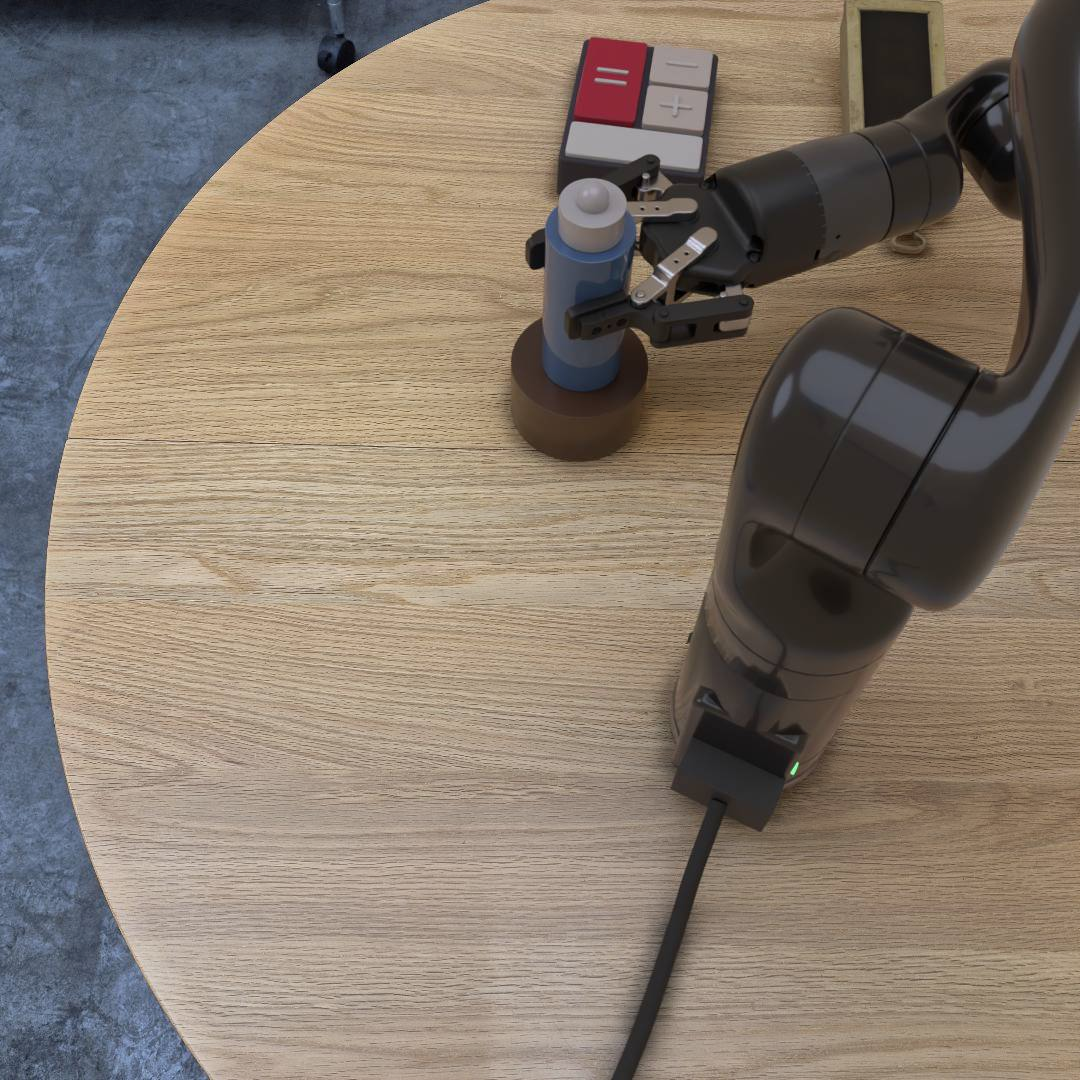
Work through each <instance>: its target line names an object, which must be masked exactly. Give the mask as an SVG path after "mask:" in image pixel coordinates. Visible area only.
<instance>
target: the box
mask: <svg viewBox="0 0 1080 1080" xmlns="http://www.w3.org/2000/svg"><path fill="white" fill-rule="evenodd" d="M943 4H944V3H943V2H942V1H939V0H844V2H843V14H842V19H841V21H840V26H839V64H840V65H839V67H840V91H841V92H840V99H841V135H844V134H848V133H851V132H854V131H857V130H861V129H864V128H867V127H870V126H874V125H877V124H880V123H883V122H887V121H890V120H894V119H897V118H899V117H901V116H903V115H905V114H906V113H908V112H910V111H911V110H913V109H915V108H916V107H918V106H919V105H921V104H923V103H924V102H926V101H927V100H929V99H931V98H932V97H934V96H936V95H937V94H939V93H940V92H942V91H943V90H945V89H946V88H948V74H947V73H948V72H947V55H946V42H945V41H946V40H945V18H944V5H943ZM920 231H921V229H918V230H915V231H913V232H909V233H906V234H903V235H900V236H897V237H894V238H891V239H890V241H889V246H890V248H891V250H892V251H893V252H898V253H901V254H910V255H917V254H919V253H923V252H924V250H925V248H926V246H927V243H928V242H927V240H926V239H925V238H924V236H923V235H921V234H920V233H919V232H920ZM902 236H911V237H912V238H913V239H914V240H915V241H916V242H918V243H919V245H918V246H910V245H909V246H908V245H903V244H900V243H898V242H897V240H898V239H900V238H901V237H902Z"/></svg>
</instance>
